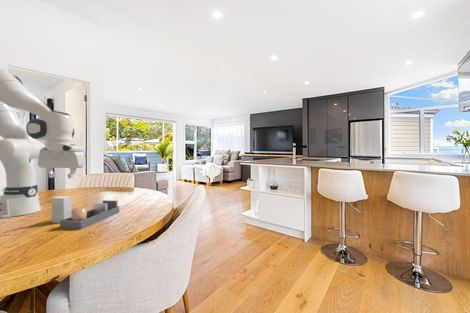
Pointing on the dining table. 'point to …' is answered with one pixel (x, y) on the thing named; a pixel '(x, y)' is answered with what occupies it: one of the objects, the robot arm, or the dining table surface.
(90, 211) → the pusher lane
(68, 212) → the skincare box
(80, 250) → the dining table surface
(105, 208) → the plate
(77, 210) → the brown egg
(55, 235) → the dining table surface
